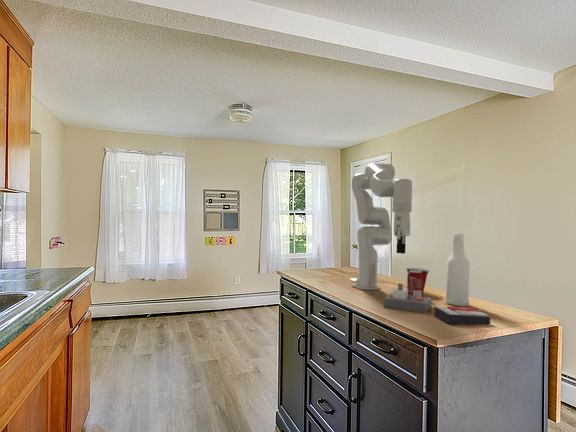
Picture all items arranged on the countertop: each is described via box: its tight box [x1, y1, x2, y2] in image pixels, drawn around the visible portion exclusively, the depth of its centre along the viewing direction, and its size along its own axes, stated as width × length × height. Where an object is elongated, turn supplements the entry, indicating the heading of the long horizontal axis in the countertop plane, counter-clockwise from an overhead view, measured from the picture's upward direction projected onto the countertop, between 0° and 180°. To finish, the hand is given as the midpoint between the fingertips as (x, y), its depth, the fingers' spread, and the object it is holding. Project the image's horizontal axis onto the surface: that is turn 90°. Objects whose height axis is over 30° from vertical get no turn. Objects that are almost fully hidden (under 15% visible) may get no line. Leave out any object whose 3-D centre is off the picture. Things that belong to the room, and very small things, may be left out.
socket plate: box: [383, 292, 432, 314], centre depth 147 cm, size 16×12×4 cm
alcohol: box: [445, 233, 470, 307], centre depth 153 cm, size 9×9×30 cm
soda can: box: [406, 270, 424, 297], centre depth 165 cm, size 7×7×12 cm
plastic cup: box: [405, 267, 430, 293], centre depth 175 cm, size 11×11×12 cm
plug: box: [392, 282, 408, 300], centre depth 148 cm, size 5×5×8 cm
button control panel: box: [433, 306, 491, 326], centre depth 129 cm, size 11×4×15 cm
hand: (400, 253), depth 148 cm, fingers closed
